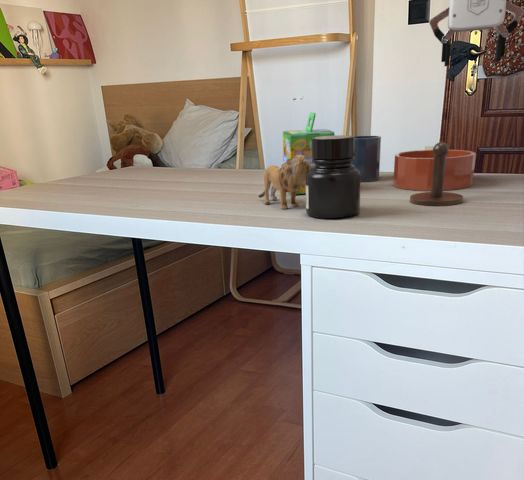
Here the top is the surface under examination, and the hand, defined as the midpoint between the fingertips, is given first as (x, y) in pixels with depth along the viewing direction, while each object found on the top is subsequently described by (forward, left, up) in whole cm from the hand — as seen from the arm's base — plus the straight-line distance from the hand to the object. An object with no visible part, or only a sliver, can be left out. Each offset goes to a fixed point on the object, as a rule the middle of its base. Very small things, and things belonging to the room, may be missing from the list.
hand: (471, 63), depth 106 cm
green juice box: (+31, +15, -22) cm, 41 cm away
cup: (+21, +1, -22) cm, 30 cm away
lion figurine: (+33, +30, -22) cm, 50 cm away
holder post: (+6, +27, -22) cm, 35 cm away
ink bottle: (+23, +38, -22) cm, 50 cm away
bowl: (+6, +5, -22) cm, 23 cm away
